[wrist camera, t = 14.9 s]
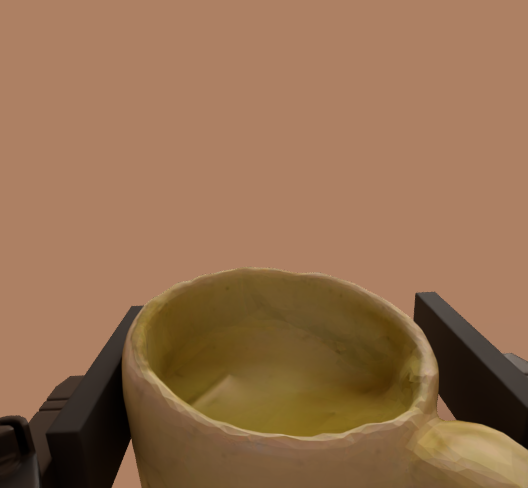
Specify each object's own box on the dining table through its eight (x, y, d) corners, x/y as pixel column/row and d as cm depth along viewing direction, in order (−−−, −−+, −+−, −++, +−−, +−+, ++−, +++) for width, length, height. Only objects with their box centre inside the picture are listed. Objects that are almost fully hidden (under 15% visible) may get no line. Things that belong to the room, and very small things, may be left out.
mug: (53, 454, 15) (112, 214, 12) (262, 413, 21) (331, 247, 19) (153, 1116, 6) (460, 731, 3) (469, 701, 12) (660, 455, 10)
